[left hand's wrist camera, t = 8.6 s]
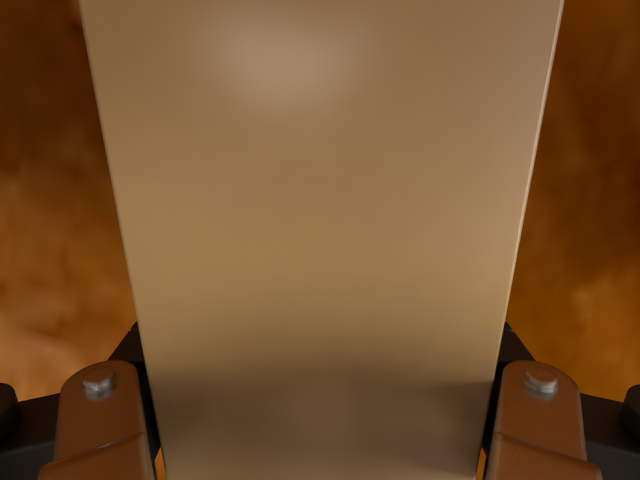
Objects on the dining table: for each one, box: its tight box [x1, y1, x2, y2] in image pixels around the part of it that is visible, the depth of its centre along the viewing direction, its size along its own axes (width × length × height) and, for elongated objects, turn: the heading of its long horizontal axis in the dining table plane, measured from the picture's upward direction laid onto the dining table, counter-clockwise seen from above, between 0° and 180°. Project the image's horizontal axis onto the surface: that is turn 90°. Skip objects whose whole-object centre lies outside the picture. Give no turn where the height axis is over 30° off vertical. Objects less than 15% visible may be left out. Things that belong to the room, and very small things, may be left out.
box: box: [77, 0, 565, 480], centre depth 10 cm, size 20×6×11 cm, turn 0°
